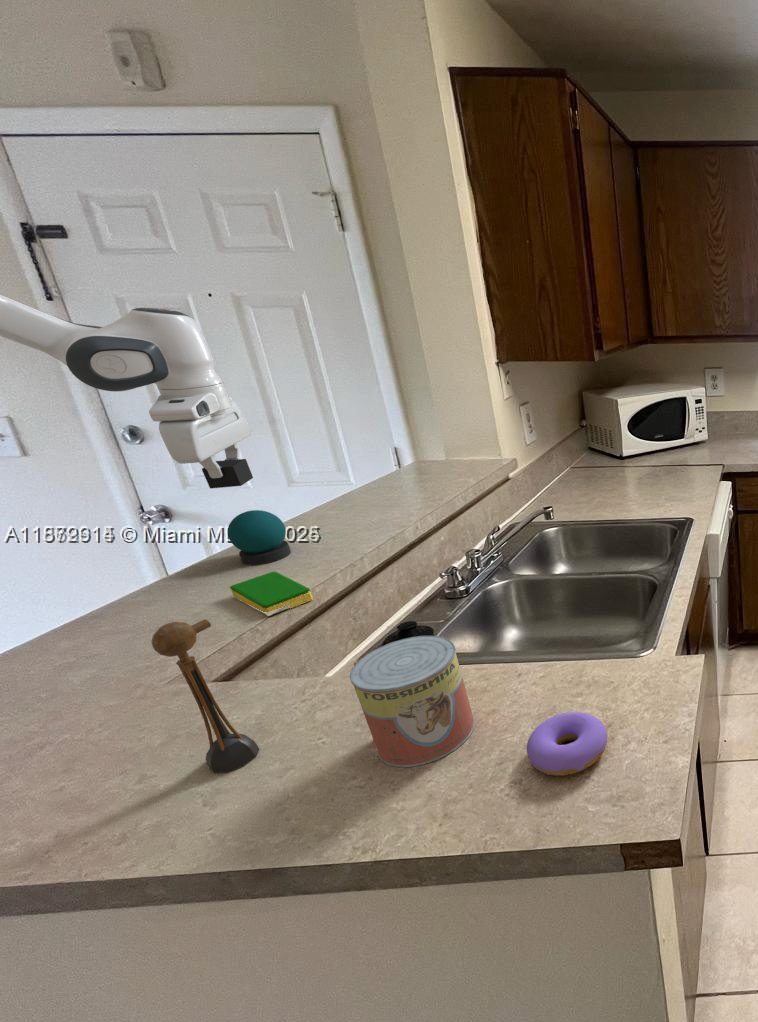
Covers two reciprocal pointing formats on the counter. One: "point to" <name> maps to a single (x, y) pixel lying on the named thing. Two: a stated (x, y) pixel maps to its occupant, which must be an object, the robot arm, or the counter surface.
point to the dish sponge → (271, 592)
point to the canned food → (414, 700)
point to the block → (230, 474)
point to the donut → (570, 756)
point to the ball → (258, 537)
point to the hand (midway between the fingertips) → (226, 471)
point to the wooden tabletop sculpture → (205, 698)
